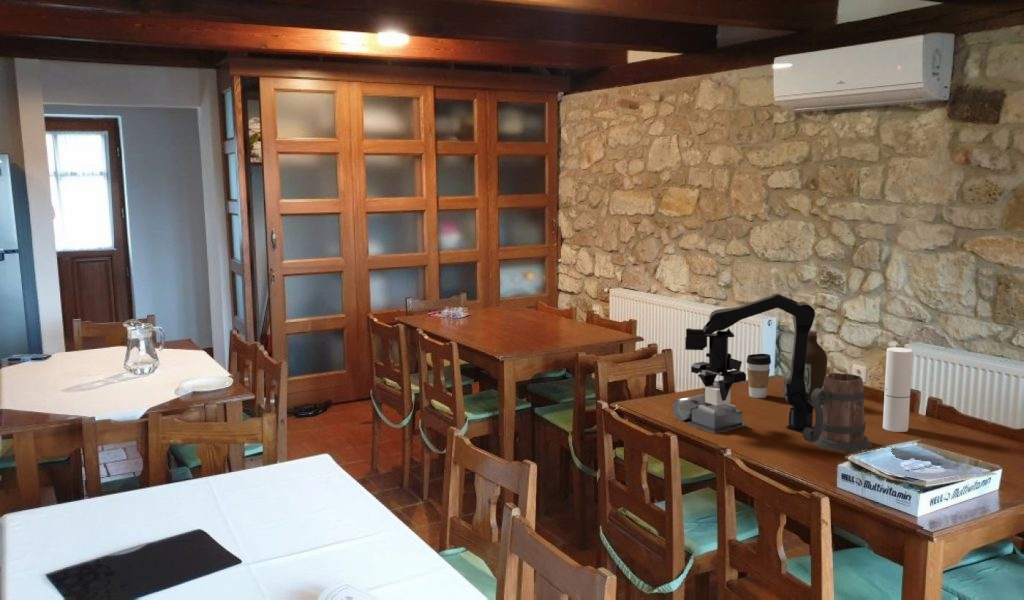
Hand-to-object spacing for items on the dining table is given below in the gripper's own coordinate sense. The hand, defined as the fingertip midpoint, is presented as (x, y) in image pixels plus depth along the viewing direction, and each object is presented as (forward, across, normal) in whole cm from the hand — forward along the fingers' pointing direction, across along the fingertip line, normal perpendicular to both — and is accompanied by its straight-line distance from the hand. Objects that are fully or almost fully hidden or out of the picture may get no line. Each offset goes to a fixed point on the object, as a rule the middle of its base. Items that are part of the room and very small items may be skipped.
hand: (717, 398), depth 255 cm
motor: (+9, +4, 0) cm, 10 cm away
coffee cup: (+9, +17, -37) cm, 42 cm away
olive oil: (+9, +2, -46) cm, 47 cm away
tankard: (+9, -32, -15) cm, 36 cm away
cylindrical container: (+9, -33, -43) cm, 55 cm away
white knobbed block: (+1, 0, 0) cm, 1 cm away
